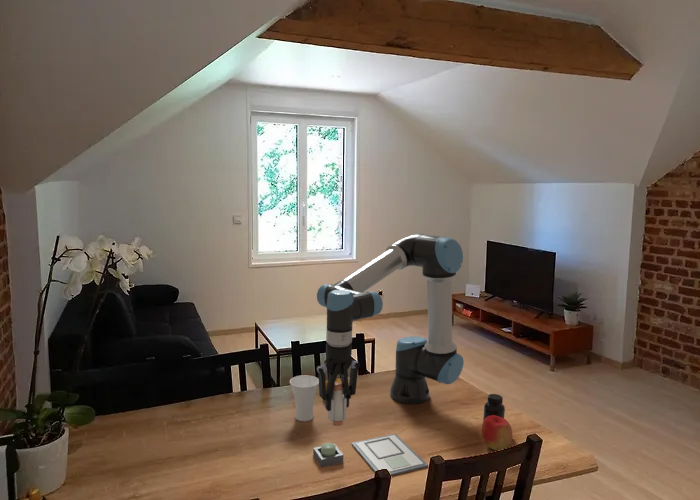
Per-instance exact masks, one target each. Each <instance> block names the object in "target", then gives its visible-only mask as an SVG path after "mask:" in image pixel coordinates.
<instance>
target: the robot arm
mask: <svg viewBox="0 0 700 500" xmlns="http://www.w3.org/2000/svg"><path fill="white" fill-rule="evenodd" d="M463 261H464V254H463V249H462V246H461V244H460V243H459V242H458V241H457V240H456V239H454V238H451V237H448V236H440V235H429V234H423V233H416V234H412V235H408V236H406V237H403V238H400V239H399V240H396V241H395V242H393V243H392V244H390V245H388V246H387V247H386V249H385V251H383V253H381V254H379V255H378V256H377V257H375V258H373V259H371V260H370V261H368V262H367V263H365V264H364V265H362V266H361V267H359V268H357V269H356V270H355V271H353V272H352V273H350V274H349V275H347V276H345V277H344V278H342V279H340V280H339V281H338V282H336V283H335V284H332V283H329V284H328V283H324V284H322V285H320V286H319V288H318V289H317V293H316V299H317V300H316V301H317V302H318V304H319V305H320V306H322V307H324V308H326V332H325V333H326V339H325V341H326V345H325V360H324V363H323V364H322V365H317V366H316V367H315V369H316V372H317V373H318V379H319V385H318V391H319V392H318V393H319V394H318V395H319V397H320V398H321V399H322V400H323V401H325V410H326V411H327V419H328V420H329V421H330V422H331V423H333V422H334V400H333V399H332V396H333V390H334V385H335V380H336V378H337V377H338V375H340V381H341V382H342V384H343V421H345V420H347V408H349V406H350V399H352V396H354V395H356V390H357V381H358V371H359V369H360V367H361V363H360V362H359V361H357V360H353V358H352V349H353V348H352V347H353V346H352V342H353V324H354V323H353V322H355V321H358V320H362V319H367V318H372V317H374V316H378V315H379V314H380V313H381V312H382V310H383V304H384V303H383V298H382V296H381V295H380V294H379V293H378V292H376V291H368V290H370V288H372V287H373V286H375V285H376V284H378V283H380V281H382V280H384V279H385V278H387V277H388V276H390V275H391V274H393V273H394V272H396V271H397V270H401V271H402V270H404V269H405V268H406V267H407V268H408V267H410V266H411V267H412V266H413V267H414V266H415V267H421V268H422V276H423V277H424V278H425V279H426V283H427V284H426V287H427V289H426V290H427V291H426V292H427V295H426V296H427V333H428V339H427V338H425V337H422V336H406V337H402V338H399V339H398V340H397V343H396V349H395V374H394V375H395V376H394V379H393V381H392V384H391V385H390V389H389V395H390V397H391V399H393V400H394V401H397V402H399V403H403V404H409V405H410V404H411V405H415V404H421V403H422V404H423V403H424V402H427V401H428V400H429V398H430V390H429V386H428V382H427V379H430V380H433V381H436V382H438V383H441V384H444V385H452V384H453V383H455V382H456V381H457V380H458V378H459V377H460V375H461V373H462V372H463V369H464V361H465V360H464V357H463V356H462V355H461V354H460V353H457V352H458V351H457V349H458V348H457V344H456V343H455V342H454V341H453V300H452V299H453V296H452V295H453V289H452V288H453V286H452V285H453V283H452V280H453V278H454V277H455V276H456V275H457V272H458V271H460V269H461V267H462V263H463ZM349 369H350V371H349V373H348V370H349ZM326 370H328V378H327V381H328V383H327V388H326V382H327V381H326V372H327V371H326ZM348 378H349V379H348ZM426 378H427V379H426ZM337 379H338V378H337Z"/></svg>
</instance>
